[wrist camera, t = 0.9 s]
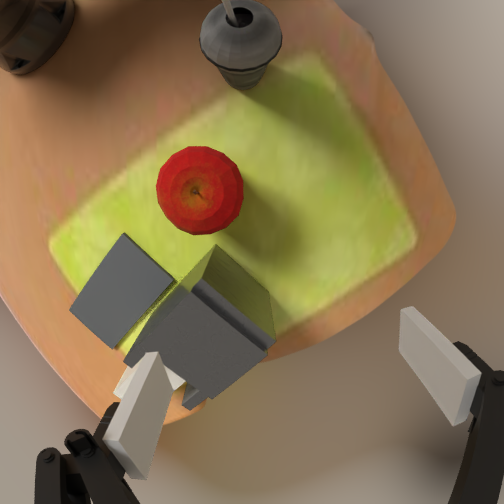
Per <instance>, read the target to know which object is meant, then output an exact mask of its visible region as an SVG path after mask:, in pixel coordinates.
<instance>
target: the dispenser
mask: <svg viewBox="0 0 504 504" xmlns="http://www.w3.org/2000/svg"><path fill="white" fill-rule="evenodd" d="M275 342H276V337H275V330H274V324H273V317H272V311H271V305H270V298H269V292H268V291H267V290H266V289H265V288H264V287H262V286H261V285H260V284H259V283H258V282H257V281H256V280H255V279H254V278H252V277H251V276H250V275H249V274H248V273H247V272H246V271H245V270H244V269H243V268H241V267H240V266H239V265H238V264H237V263H236V262H235V261H234V260H233V259H231V258H230V257H229V256H228V255H227V254H226V253H225V252H224V251H223V250H222V249H220V248H219V247H218V246H217V245H215V246H214V247H213V248H212V249H211V250H210V251H209V252H208V253H207V254H206V255H205V256H204V257H203V258H202V259H201V260H200V262H199V263H198V264H197V265H196V266H195V267H194V268H193V269H192V270H191V271H190V272H189V273H188V274H187V275H186V277H185V278H184V279H183V280H182V281H181V282H180V283H179V284H178V285H177V286H176V287H175V288H174V290H173V291H172V292H171V293H170V294H169V295H168V296H167V297H166V298H165V299H164V301H163V302H162V303H161V304H160V305H159V306H158V307H157V308H156V309H155V310H154V312H153V313H152V315H151V316H150V318H149V319H148V321H147V323H146V324H145V326H144V328H143V329H142V331H141V332H140V334H139V336H138V337H137V339H136V341H135V342H134V344H133V346H132V347H131V349H130V351H129V352H128V354H127V356H126V357H125V359H124V361H123V362H124V363H125V364H127V365H128V366H129V367H130V368H133V367H134V366H135V365H136V364H137V363H138V362H139V361H140V360H141V359H142V358H143V357H144V355H145V353H148V352H159V354H160V357H161V360H162V362H163V365H165V366H166V367H167V368H169V369H170V370H171V371H173V372H174V373H175V374H177V375H178V376H179V377H181V378H182V379H184V380H185V381H186V382H187V386H186V390H185V394H184V397H183V401H182V406H184V407H185V408H187V409H188V410H192V409H193V408H194V407H196V406H197V405H198V404H200V403H201V402H202V401H203V400H205V399H206V398H207V397H209V398H211V399H213V398H214V397H216V396H217V395H218V394H220V393H221V392H222V391H224V390H225V389H226V388H227V387H229V386H230V385H231V384H232V383H234V382H235V381H236V380H238V379H239V378H240V377H241V376H242V375H244V374H245V373H246V372H248V371H249V370H250V369H251V368H252V367H254V366H255V365H256V364H257V363H259V362H260V361H261V360H262V359H263V358H265V357H266V356H267V355H268V352H267V349H268V348H269V347H270V346H271V345H273V344H274V343H275Z"/></svg>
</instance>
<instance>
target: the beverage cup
mask: <svg viewBox="0 0 504 504" xmlns="http://www.w3.org/2000/svg"><path fill="white" fill-rule="evenodd" d="M222 2H223V3H221V4H219V5H217V6H216V7H215V8H214V9H212V10H211V11H210V12H209V13H208V15H207V16H206V18H205V20H204V21H203V23H202V27H201V32H200V38H199V41H200V46H201V50H202V52H203V54H204V55H205V57H206V58H207V59H208V60H209V61H210V62H211V63H213V64H214V65H215V66H217V68H218V69H219V71H220V72H221V74H222V76H223V77H224V79H225V80H226V82H227V83H228V84H229V85H230V86H232V87H233V88H236V89H240V90H245V89H250V88H252V87H254V86H255V85H256V84H257V83H258V82H259V81H260V79H261V77H262V76H263V74H264V71H265V69H266V67H267V65H268V63H269V62H270V61H271V60H272V59H273V58H275V57H276V55H277V53H278V52H279V50H280V48H281V44H282V33H281V29H280V26H279V22H278V19H277V18H276V17H275V15H274V14H273V13H272V11H271V10H270V9H269V8H267V7H266V6H264V5H263V4H261V3H259V2H256V1H253V0H222Z"/></svg>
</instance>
